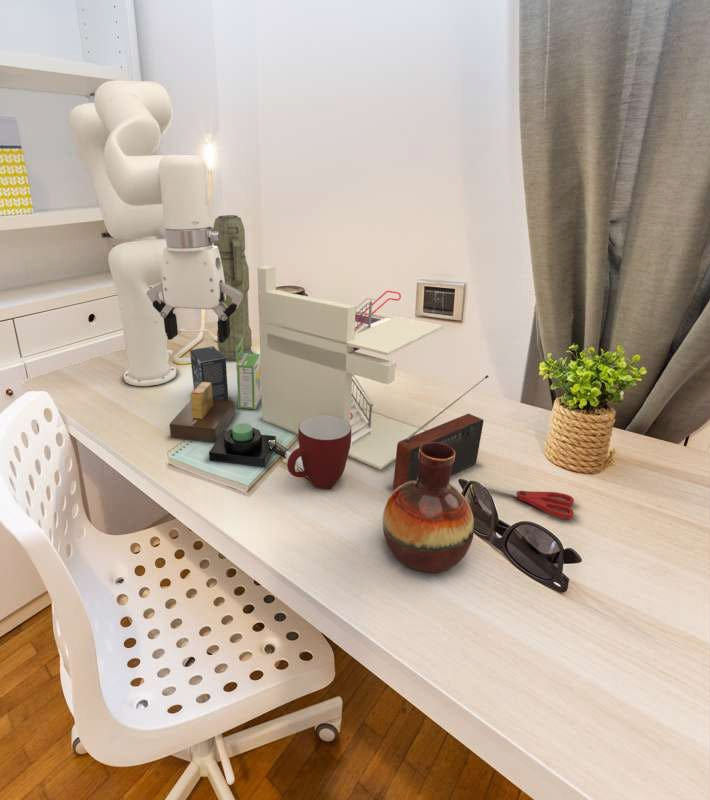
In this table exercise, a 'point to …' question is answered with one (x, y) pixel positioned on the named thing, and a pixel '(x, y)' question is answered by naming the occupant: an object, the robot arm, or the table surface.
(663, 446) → the table surface
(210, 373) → the box
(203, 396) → the thumb turn
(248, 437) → the release button
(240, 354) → the ink box
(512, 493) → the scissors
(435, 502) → the vase
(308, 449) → the mug
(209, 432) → the plate
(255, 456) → the button block
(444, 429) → the radio
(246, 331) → the green carrying bag
